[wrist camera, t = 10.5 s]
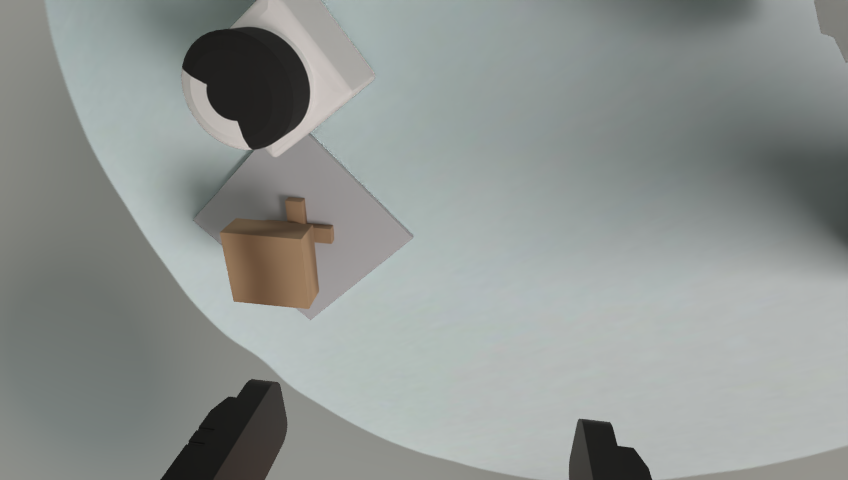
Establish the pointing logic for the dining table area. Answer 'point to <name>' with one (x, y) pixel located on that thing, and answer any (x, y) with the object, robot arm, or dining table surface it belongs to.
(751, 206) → the dining table surface
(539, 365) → the dining table surface
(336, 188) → the mat
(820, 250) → the dining table surface
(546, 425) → the dining table surface
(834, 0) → the spiral staircase
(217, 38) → the blocky figurine
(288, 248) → the wooden pedestal stool
